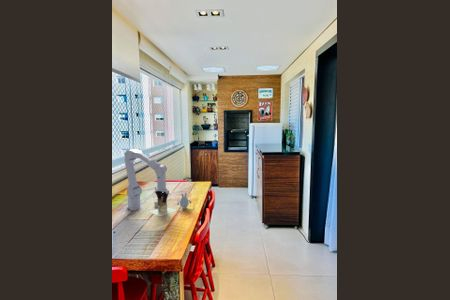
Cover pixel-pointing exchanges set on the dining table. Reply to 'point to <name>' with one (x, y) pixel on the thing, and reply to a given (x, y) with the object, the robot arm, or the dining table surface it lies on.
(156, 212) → the station board
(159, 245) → the dining table surface
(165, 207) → the maple block
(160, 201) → the walnut block
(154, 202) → the grey block
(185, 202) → the toy figure
